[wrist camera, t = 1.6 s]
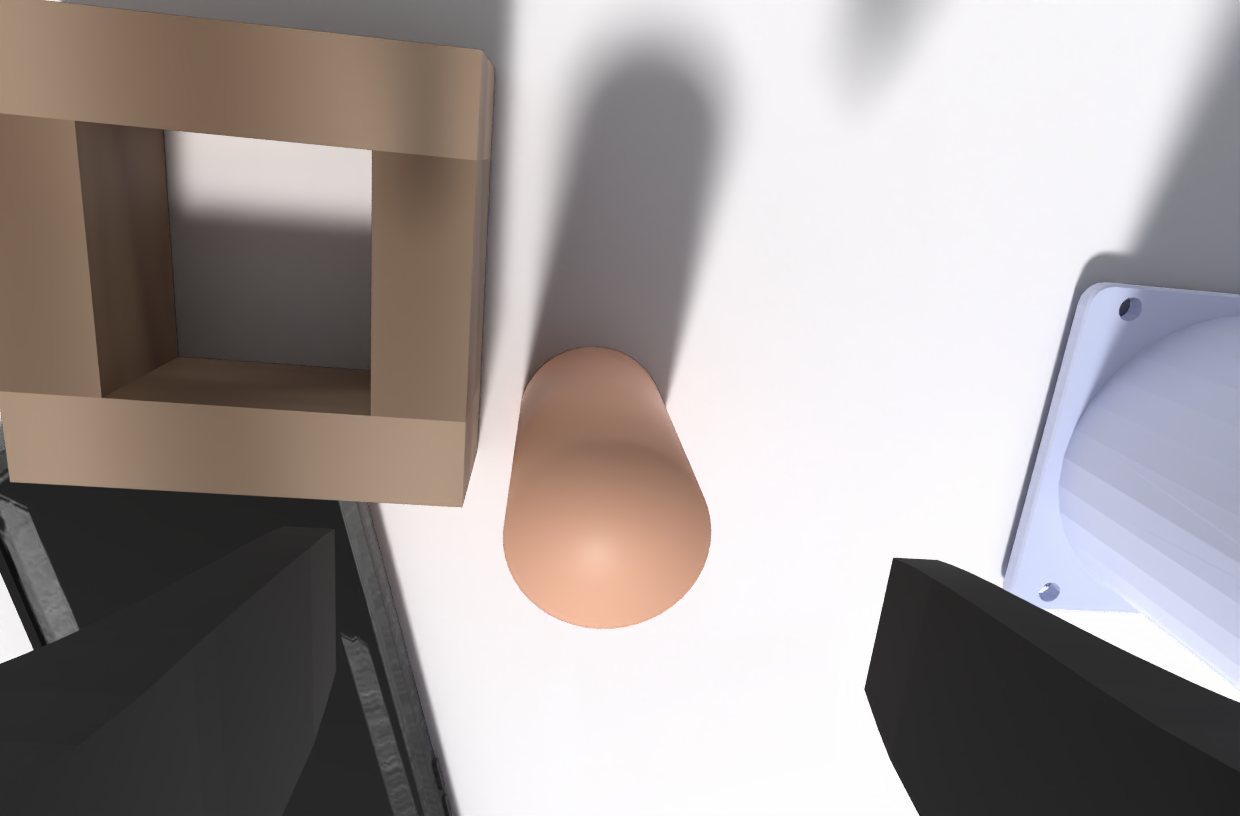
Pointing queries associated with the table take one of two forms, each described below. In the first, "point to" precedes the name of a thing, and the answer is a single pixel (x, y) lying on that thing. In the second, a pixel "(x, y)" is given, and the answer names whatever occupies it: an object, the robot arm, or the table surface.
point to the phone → (197, 536)
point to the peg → (601, 495)
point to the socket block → (142, 265)
